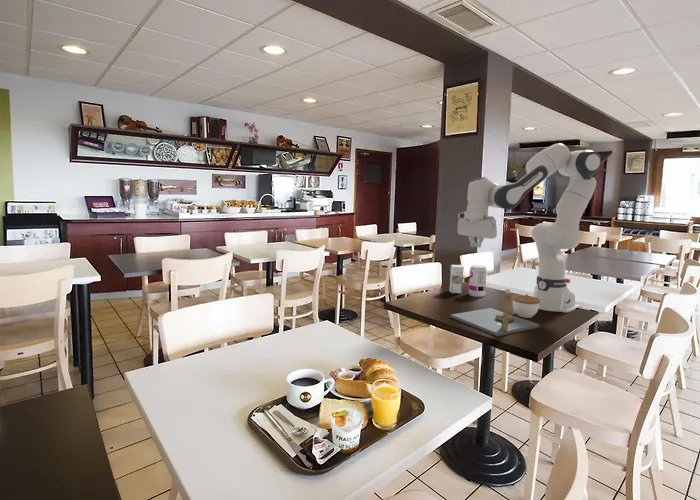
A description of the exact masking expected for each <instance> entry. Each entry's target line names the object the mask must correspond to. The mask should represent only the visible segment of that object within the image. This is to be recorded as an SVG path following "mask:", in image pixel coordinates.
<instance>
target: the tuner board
mask: <svg viewBox="0 0 700 500" xmlns="http://www.w3.org/2000/svg"><path fill="white" fill-rule="evenodd" d="M496 315H502V317H503V316H504V311H501V310H498V309H495V308H491V307H489V308H482V309H475V310H470V311H465V312H464V311H463V312H459V313H452V314H450V318H451V319H454V320H456V321H459V322H460V323H464V324H466V325H469V326H471V327H473V328H476V329H478V330H481V331H483V332H486V333H488V334H491V335H494V336H496V337H500V336H505V335H510V334H515V333H519V332H524V331H528V330H534V329H539V328H540V324H539V323H535V322H534V321H530V320H527V319H525V318H523V317H520V316H515V315H513V314H510V313H509V316H512V317H514V321H512V322H508V331H504V330H503V321H500V320H497V319H496Z"/></svg>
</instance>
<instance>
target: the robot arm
mask: <svg viewBox="0 0 700 500" xmlns="http://www.w3.org/2000/svg"><path fill="white" fill-rule="evenodd" d="M601 165H602V157H601V155H600V154H599V153H598V152H597V151H595V150H592V149H585V150H575V151H570V149H569V147H568V146H566V145H565V144H564V143H560V142H559V143H554V144H552V145H550V146H548V147H546V148H544V149H542V150H540V151H539V152H538V153H536V154H535V155H533V156H532V157H531V158H529V159H528V161H527V162H526V163H525V172H526V174H525V175H524V176H523V177H521V178H520V179H519V180H518V181H516V182H514V183H511V184H505V185H504V184H503V185H501V184H498V183H495V182H494V181H492V180H490V179H489V178H488V177H486V176H483V177H476V178H473V179H471V180H470V181H469V182H468V187H467V196H466V197H467V206H466V211H462V212H461V213H458V216H457V217H458V221H457V230H456V231H457V234H458V235H460V236H467V237H468V240H469V242H470V247H473V248H474V247H475V248H479V249H480V248H482V244H483V241H484V240H485V239H488V240H489V239H490V240H493V239H496V238H497V236H498V234H497V233H498V229H497V219H496V218H495V217H494V216H489V207H491V208H498V209H503V210H512V209H515V208H516V207H518V205H519V204H520V203H521V201H522V200H523V198H524V197H525V196H526V195H527V194H528V193H530V192H531V191H532V190H534V189H535V188H536V187H537V186H538V185H540V184H541V183H543V181H544V180H545V179H547V178H549V177H551V175H553V174H554V173H555V174H557V175H559V176H560V177H569V181H568V185H567V187H566V188H565V190H564V192H563V194H562V195H561V197H560V199H559V201H558V202H557V204H556V206H555V211H556V213H557V214H556V219H555V221H554V222H542V223H541V222H540V223H538V224H535V225H534V227H533V228H532V230H531V238H532V240H533V241H534V243H535V245H536V249H537V256H538V273H537V276H536V280H535V281H536V282H535V283H536V285H535V286H534V289H533V295H532V297H536V298H538V299H540V303H539V309H538V310H542V311H546V312H547V311H548V312H559V313H560V312H561V313H570V312H573V311H575V310H577V309H576V308H578V309H580V308H581V304H578V303H576V296H575V293H574V292H573V291H571V289H570V288H569V287H568V285H567V284H570V283H571V278H566V268H567V262H566V259H565V258H564V256H563V254H562V251H563V250H572V249H575V248H576V247H578V245H580V243H581V241H582V235H581V232H580V222H581V219H582V216H583V214H584V213H585V210H586V208H587V206H588V204H589V202H590V200H591V199H592V197H593V195H594V192H595V189H596V186H597V180H596V176H597V175H598V172H599V170H600V168H601ZM476 238H477V242H475V239H476Z"/></svg>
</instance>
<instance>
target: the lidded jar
mask: <svg viewBox="0 0 700 500" xmlns="http://www.w3.org/2000/svg"><path fill="white" fill-rule="evenodd" d="M539 303H540V299H538V298H536V297H533V295H529V294H527V293H526V294H525V295H523V294H520V295H519V294H518V295H514V296H513V297H512V308H513V311H514V312H515V314H517V317H519V318H523V319H525V318H526V319H531V318H533V317H534V316H536V314H538V311H539V310H540V309H539Z"/></svg>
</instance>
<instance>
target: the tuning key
mask: <svg viewBox="0 0 700 500" xmlns="http://www.w3.org/2000/svg"><path fill="white" fill-rule="evenodd" d="M504 291H505V292H504V303H503V304H504V305H503V312H504V316H503V317H502V315H496V319H497V320H500V321H503V330H504V331H508V322H512V321H514V317H512V316H509V314H510V303H511V289H510V288H509V289H508V288H507V289H505V290H504Z"/></svg>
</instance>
